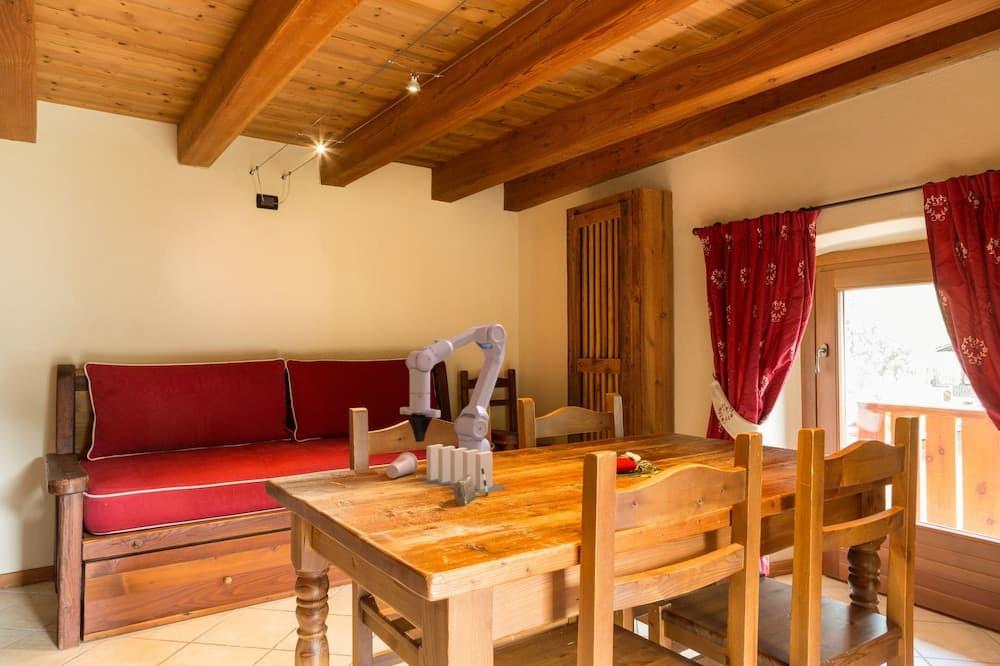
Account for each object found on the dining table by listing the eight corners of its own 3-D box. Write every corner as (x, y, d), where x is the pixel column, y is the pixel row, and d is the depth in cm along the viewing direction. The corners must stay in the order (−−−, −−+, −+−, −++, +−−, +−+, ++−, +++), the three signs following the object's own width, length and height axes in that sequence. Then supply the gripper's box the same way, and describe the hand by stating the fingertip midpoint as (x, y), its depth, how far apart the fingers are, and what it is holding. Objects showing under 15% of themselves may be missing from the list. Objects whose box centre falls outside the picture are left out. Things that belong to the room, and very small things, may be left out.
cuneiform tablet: (488, 496, 157) (474, 508, 145) (471, 499, 158) (455, 511, 146) (483, 467, 157) (468, 477, 146) (466, 470, 158) (450, 480, 147)
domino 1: (426, 479, 174) (426, 446, 174) (438, 476, 178) (438, 444, 178) (430, 480, 173) (430, 446, 173) (443, 477, 177) (443, 444, 177)
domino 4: (462, 486, 165) (462, 451, 165) (475, 483, 169) (475, 449, 169) (467, 487, 164) (467, 452, 164) (479, 484, 168) (479, 450, 168)
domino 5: (475, 489, 162) (475, 453, 163) (487, 485, 166) (487, 451, 166) (480, 489, 161) (480, 454, 162) (492, 486, 165) (492, 451, 165)
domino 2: (438, 481, 171) (438, 448, 171) (450, 478, 175) (450, 445, 175) (442, 482, 170) (442, 448, 170) (454, 479, 174) (454, 446, 174)
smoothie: (406, 471, 172) (429, 459, 185) (390, 454, 173) (413, 443, 187) (393, 487, 174) (416, 474, 187) (377, 471, 175) (401, 458, 188)
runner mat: (437, 474, 182) (437, 473, 182) (508, 488, 165) (508, 486, 165) (411, 480, 174) (411, 479, 174) (483, 495, 157) (483, 493, 157)
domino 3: (450, 484, 168) (450, 449, 168) (462, 480, 172) (462, 447, 172) (454, 484, 167) (454, 450, 167) (466, 481, 171) (466, 448, 171)
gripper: (392, 392, 181) (391, 440, 181) (427, 395, 172) (427, 446, 172) (410, 391, 186) (410, 437, 186) (445, 393, 177) (445, 442, 177)
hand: (419, 441), depth 179 cm, fingers closed
